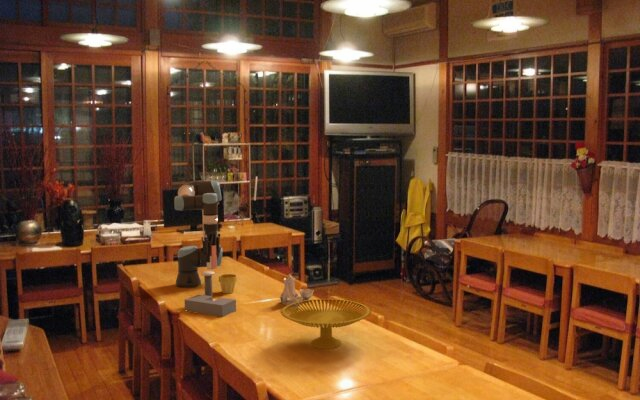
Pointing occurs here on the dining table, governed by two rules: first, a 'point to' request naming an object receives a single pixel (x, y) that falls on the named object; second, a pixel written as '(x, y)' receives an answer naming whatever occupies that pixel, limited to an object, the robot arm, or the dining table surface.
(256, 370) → the dining table surface
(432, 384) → the dining table surface
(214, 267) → the tab
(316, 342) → the pedestal fruit bowl
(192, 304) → the notched board
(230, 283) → the plant pot
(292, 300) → the chinaware
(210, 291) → the bobbin
